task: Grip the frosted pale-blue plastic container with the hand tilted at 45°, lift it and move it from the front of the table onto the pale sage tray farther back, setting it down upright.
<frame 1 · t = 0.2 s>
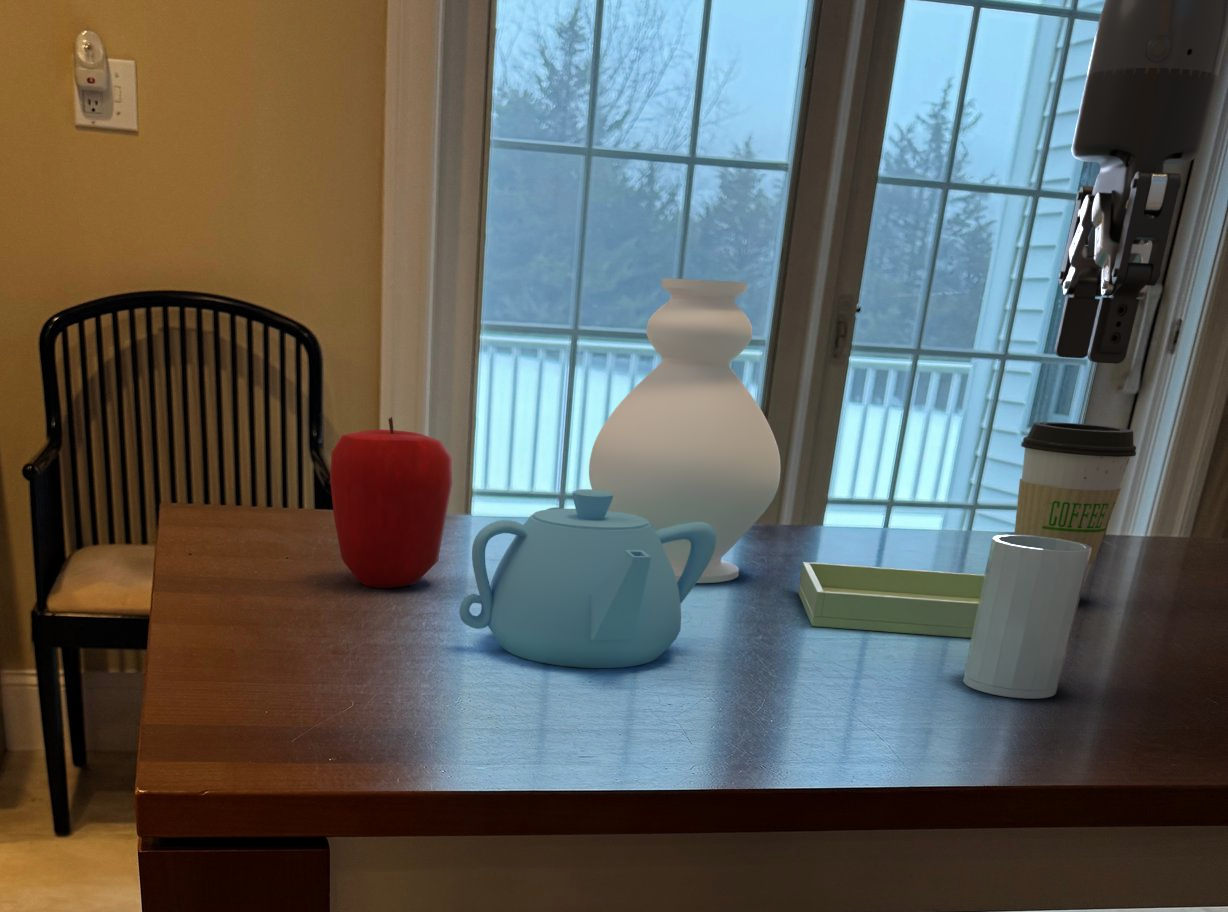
hand: (1086, 360, 93), 21 cm above the table, tool pointing down, fingers open, 8 cm apart
decorative vase: (672, 572, 135), on the table
coffee cup: (1043, 599, 132), on the table
apple: (389, 584, 123), on the table
container: (1009, 686, 100), on the table
tray: (904, 616, 121), on the table
teapot: (580, 649, 105), on the table
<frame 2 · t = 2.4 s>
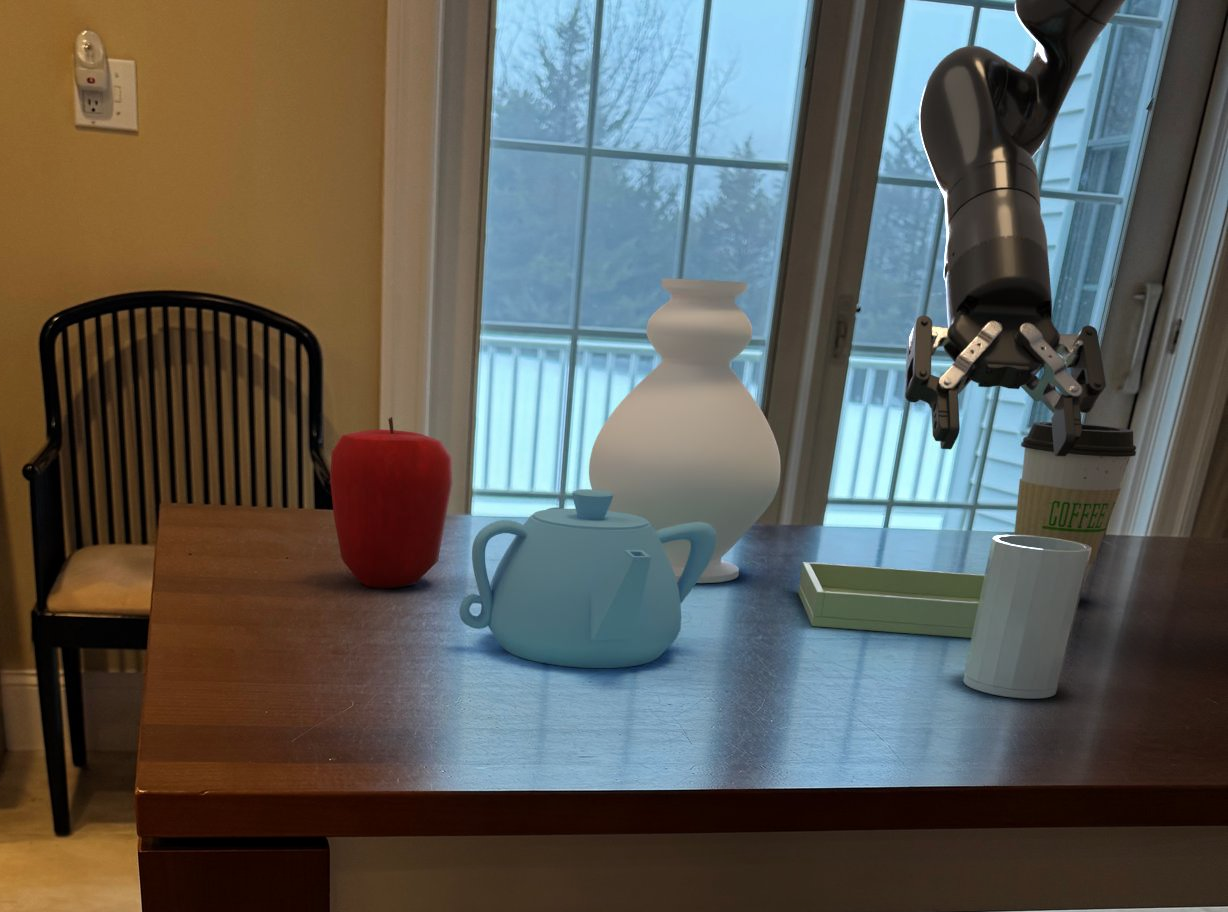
hand: (1008, 445, 104), 15 cm above the table, tool tilted 45°, fingers open, 8 cm apart
nothing on the table moved.
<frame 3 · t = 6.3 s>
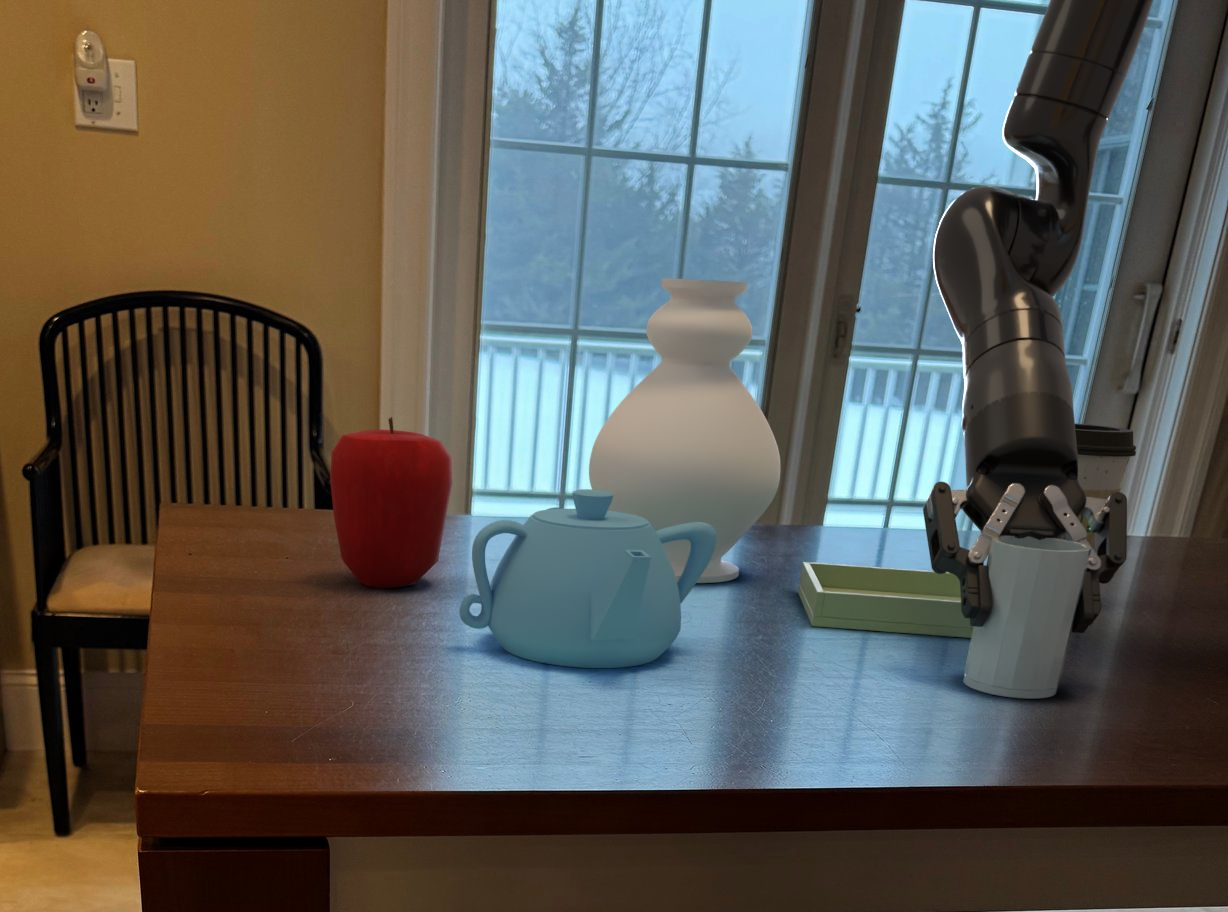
hand: (1032, 623, 97), 5 cm above the table, tool tilted 45°, fingers closed on container, 6 cm apart
container: (1009, 686, 100), on the table, touching gripper
everything else where it was.
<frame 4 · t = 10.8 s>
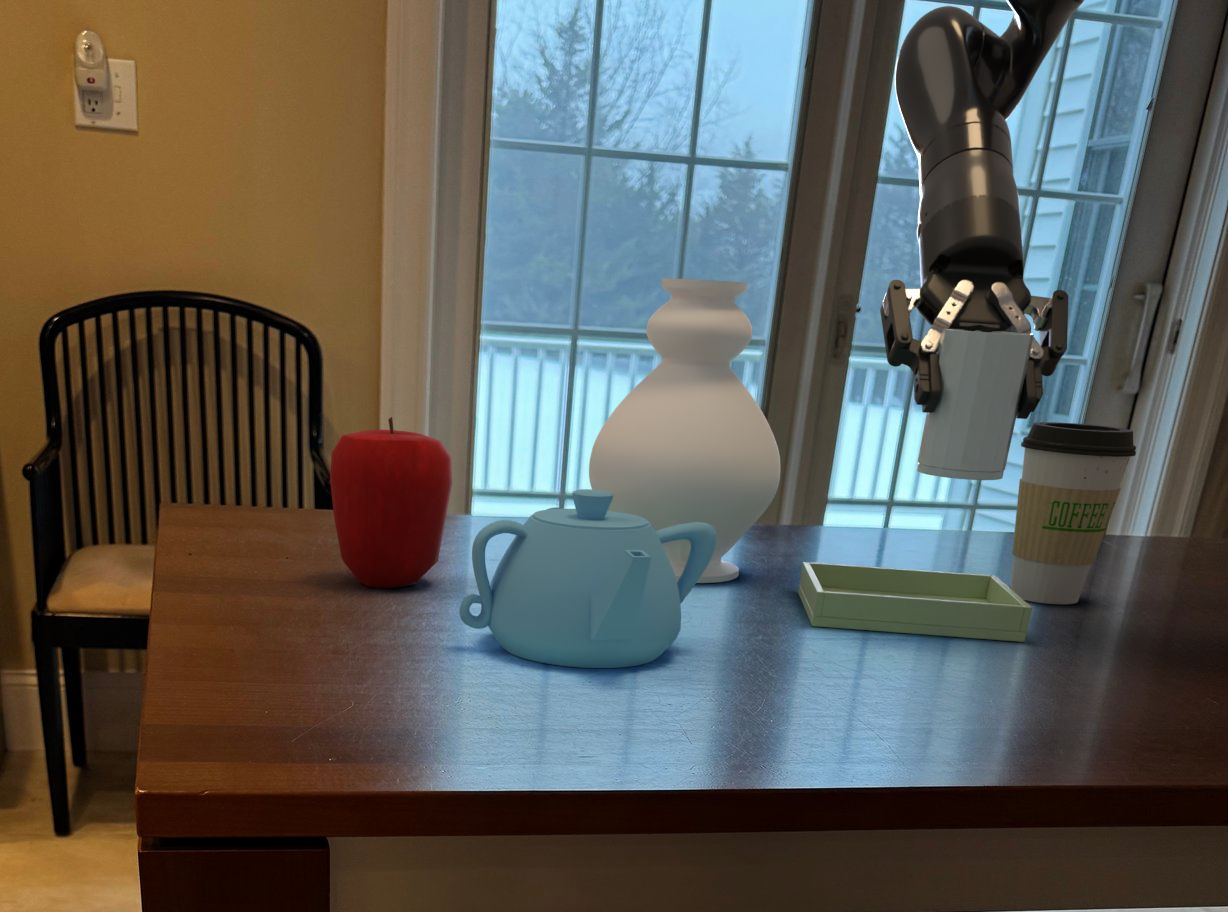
hand: (979, 407, 104), 17 cm above the table, tool tilted 45°, fingers closed on container, 6 cm apart
container: (959, 474, 108), point 13 cm above the table, touching gripper
everything else where it was.
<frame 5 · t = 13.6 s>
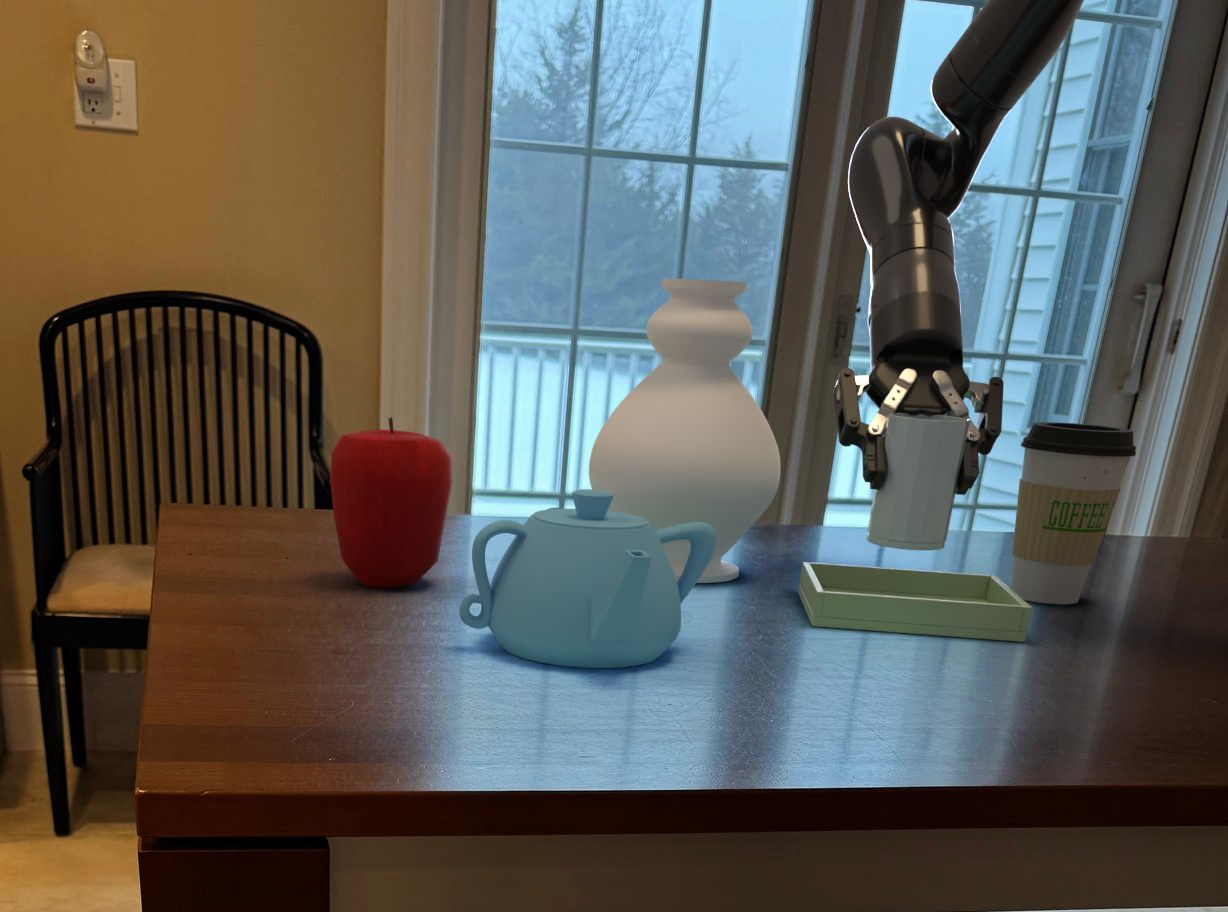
hand: (921, 485, 115), 11 cm above the table, tool tilted 45°, fingers closed on container, 6 cm apart
container: (905, 543, 118), point 6 cm above the table, touching gripper
everything else where it was.
when the fingers open (6 cm above the table, at t = 15.7 s): container stays where it is, resting on tray.
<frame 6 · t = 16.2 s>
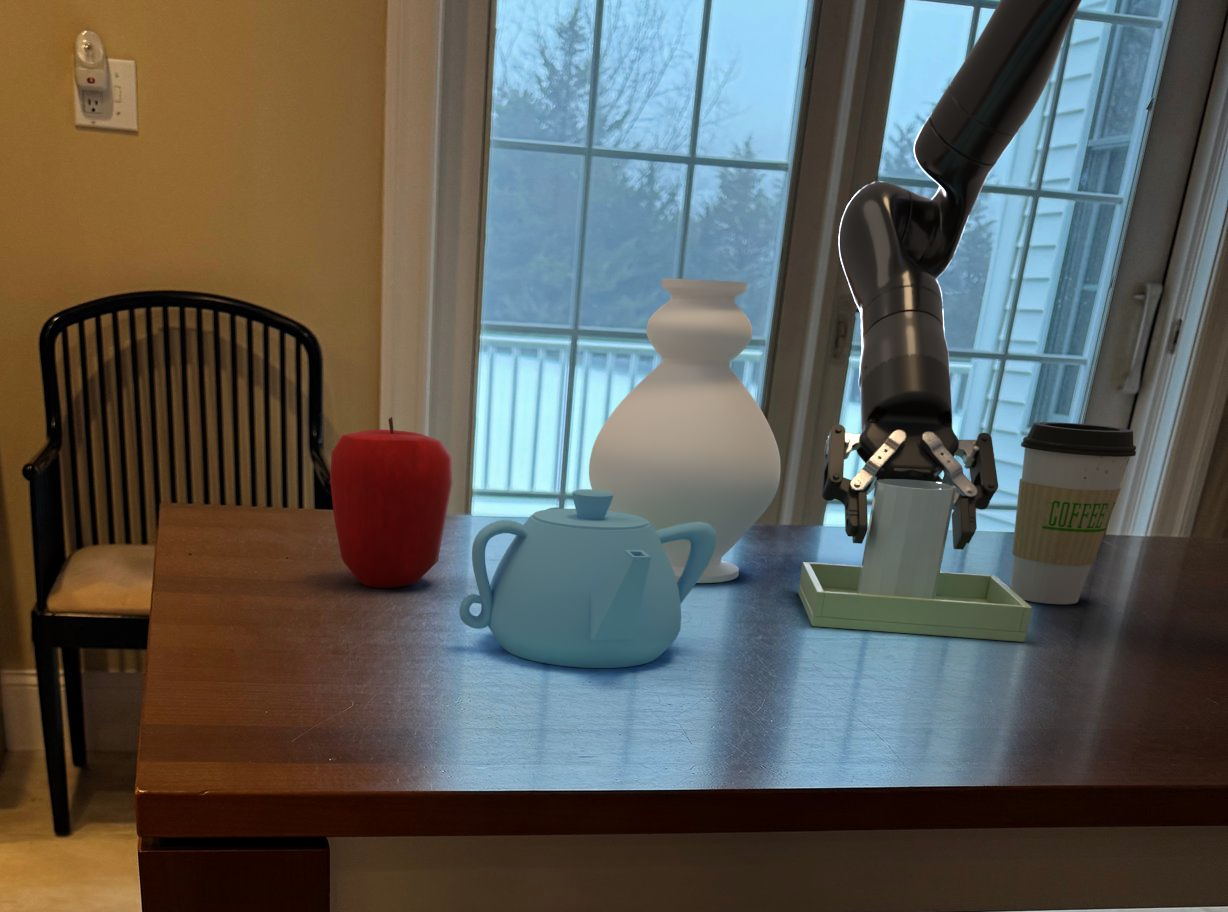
hand: (911, 540, 117), 6 cm above the table, tool tilted 45°, fingers open, 8 cm apart
container: (893, 605, 121), point 1 cm above the table, touching tray
everything else where it was.
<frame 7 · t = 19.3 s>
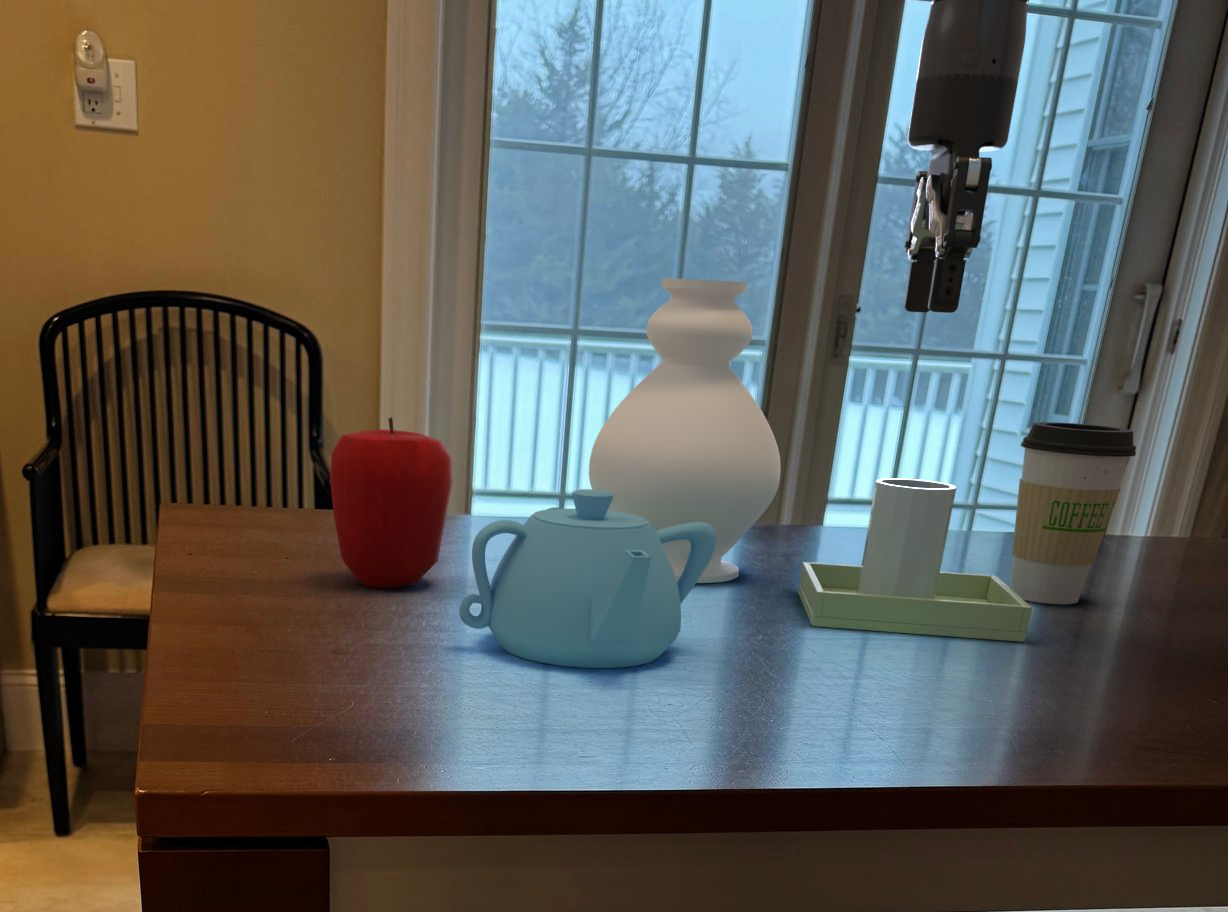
hand: (928, 312, 114), 24 cm above the table, tool pointing down, fingers open, 8 cm apart
nothing on the table moved.
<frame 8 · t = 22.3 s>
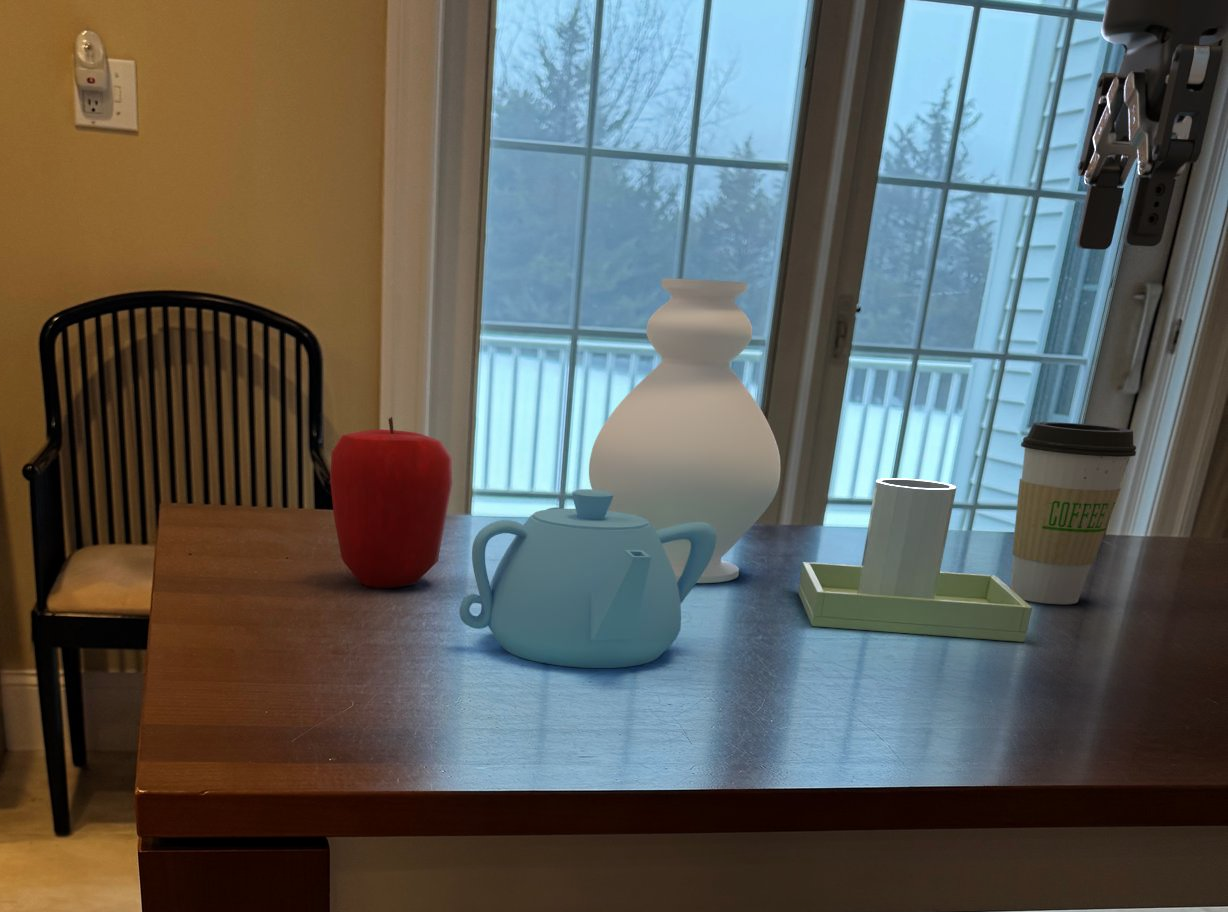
hand: (1115, 247, 93), 28 cm above the table, tool pointing down, fingers open, 8 cm apart
nothing on the table moved.
at the end: container inside the target area in the tray (1.1 cm from its centre), point 0.8 cm above the tray's base; container tilted 0°; the gripper is holding nothing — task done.
